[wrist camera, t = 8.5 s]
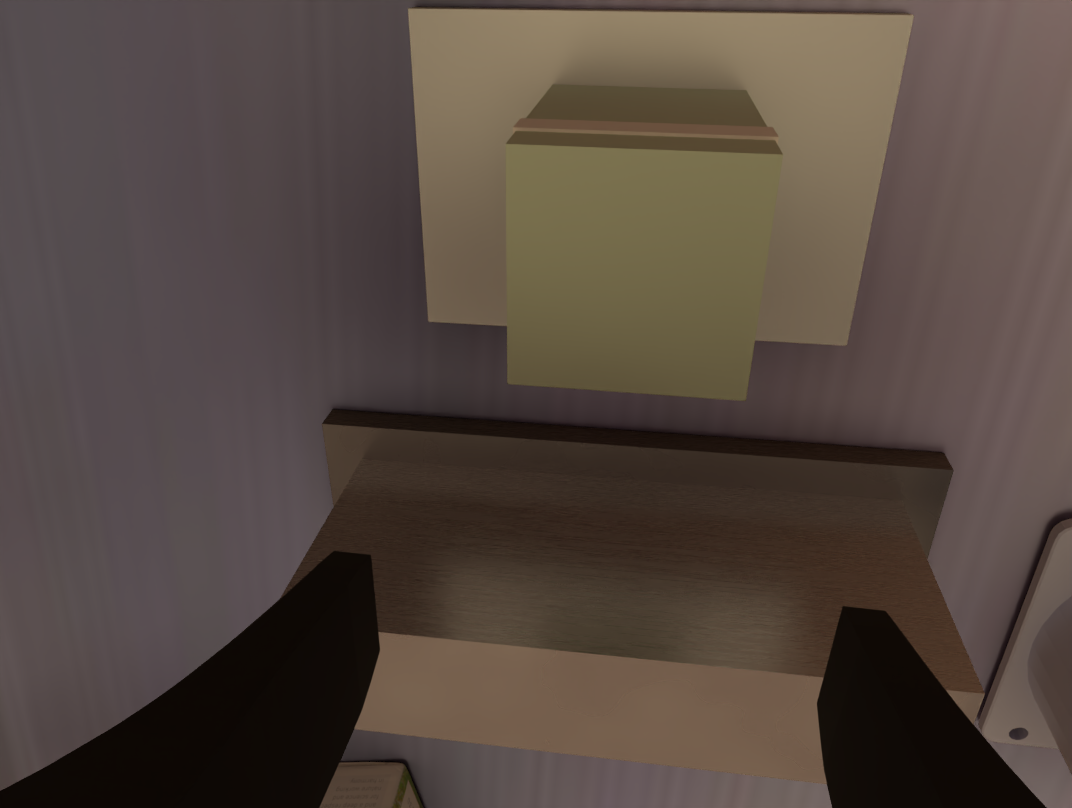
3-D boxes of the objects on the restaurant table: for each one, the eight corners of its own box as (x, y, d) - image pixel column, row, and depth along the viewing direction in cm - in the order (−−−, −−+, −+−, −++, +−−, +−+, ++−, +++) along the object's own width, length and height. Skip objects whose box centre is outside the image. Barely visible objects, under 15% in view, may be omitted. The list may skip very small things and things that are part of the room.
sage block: (749, 87, 17) (786, 151, 12) (724, 278, 19) (748, 404, 14) (550, 82, 17) (502, 140, 12) (547, 267, 19) (504, 385, 14)
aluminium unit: (944, 452, 21) (1058, 660, 15) (901, 603, 23) (984, 834, 17) (332, 409, 23) (211, 578, 17) (351, 552, 25) (252, 745, 19)
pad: (907, 13, 16) (914, 15, 16) (842, 336, 20) (846, 345, 19) (414, 6, 18) (408, 8, 17) (432, 313, 21) (428, 321, 20)
